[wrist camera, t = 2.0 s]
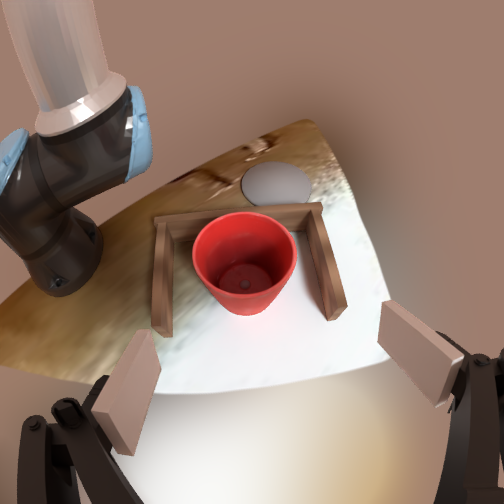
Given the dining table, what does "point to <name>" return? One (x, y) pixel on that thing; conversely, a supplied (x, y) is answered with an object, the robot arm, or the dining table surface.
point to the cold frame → (193, 223)
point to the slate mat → (276, 184)
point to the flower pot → (244, 260)
